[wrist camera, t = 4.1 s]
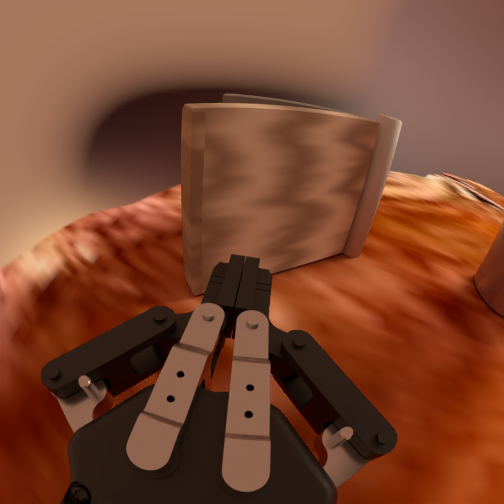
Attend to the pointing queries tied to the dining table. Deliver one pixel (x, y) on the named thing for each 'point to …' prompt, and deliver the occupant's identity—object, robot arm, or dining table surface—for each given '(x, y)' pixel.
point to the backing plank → (375, 173)
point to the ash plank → (268, 184)
